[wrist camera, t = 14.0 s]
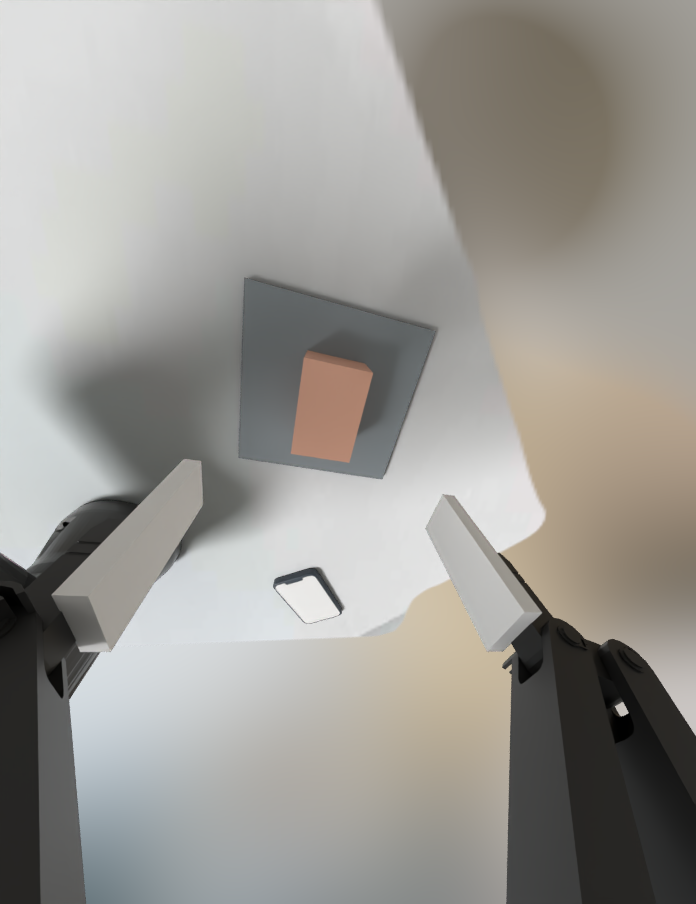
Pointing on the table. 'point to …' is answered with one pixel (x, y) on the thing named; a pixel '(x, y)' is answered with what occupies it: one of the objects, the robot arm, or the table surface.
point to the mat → (332, 333)
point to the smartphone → (308, 596)
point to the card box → (329, 406)
